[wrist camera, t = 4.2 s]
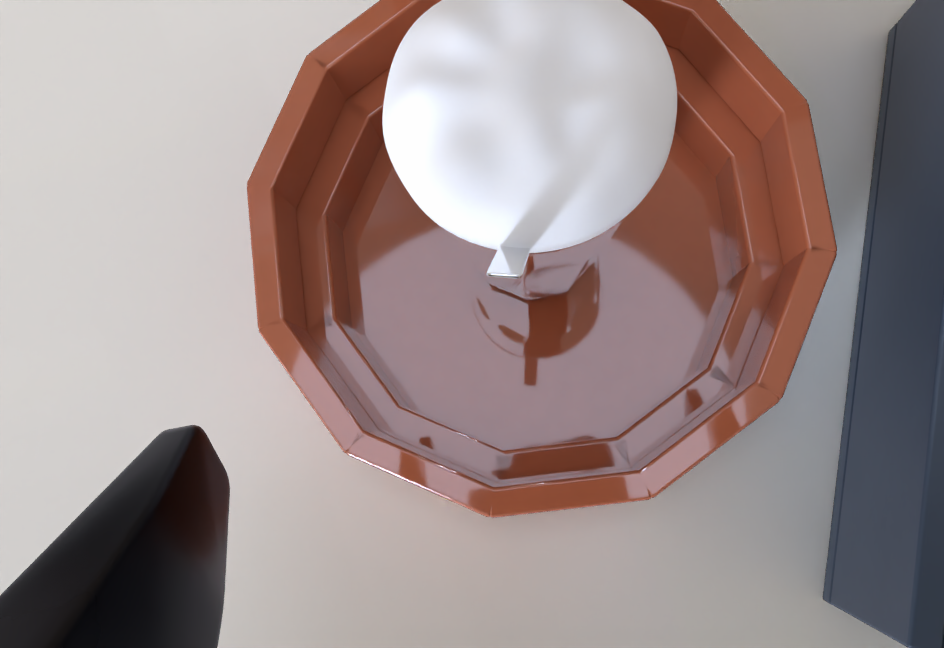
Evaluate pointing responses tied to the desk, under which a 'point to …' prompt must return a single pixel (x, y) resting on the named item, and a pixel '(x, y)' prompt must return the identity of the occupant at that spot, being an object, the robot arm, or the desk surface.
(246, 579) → the desk surface
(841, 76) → the desk surface
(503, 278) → the milkshake
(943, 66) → the bin
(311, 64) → the bowl
